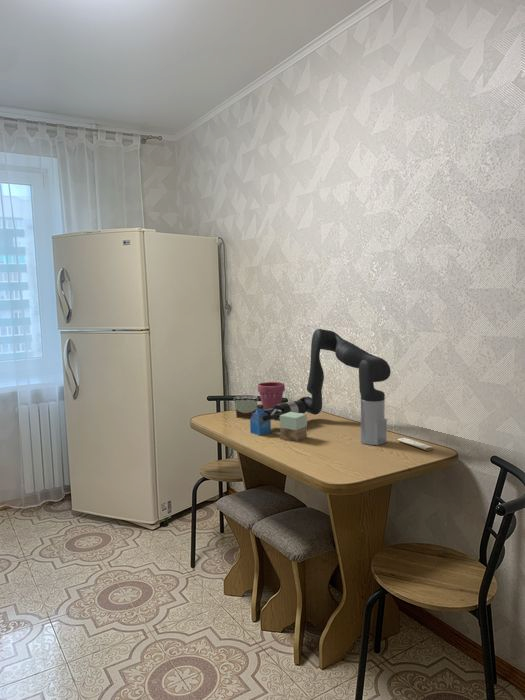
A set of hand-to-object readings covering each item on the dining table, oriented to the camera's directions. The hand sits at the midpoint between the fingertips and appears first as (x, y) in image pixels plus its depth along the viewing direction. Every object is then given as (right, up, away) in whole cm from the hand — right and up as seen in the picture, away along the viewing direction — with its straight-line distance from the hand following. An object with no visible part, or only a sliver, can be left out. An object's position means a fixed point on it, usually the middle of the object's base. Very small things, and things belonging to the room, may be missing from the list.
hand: (258, 417), depth 219 cm
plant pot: (+7, -2, +51) cm, 51 cm away
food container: (-6, -4, +33) cm, 34 cm away
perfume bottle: (+1, -7, +2) cm, 7 cm away
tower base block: (+15, -8, -8) cm, 18 cm away
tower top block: (+15, -3, -8) cm, 17 cm away
